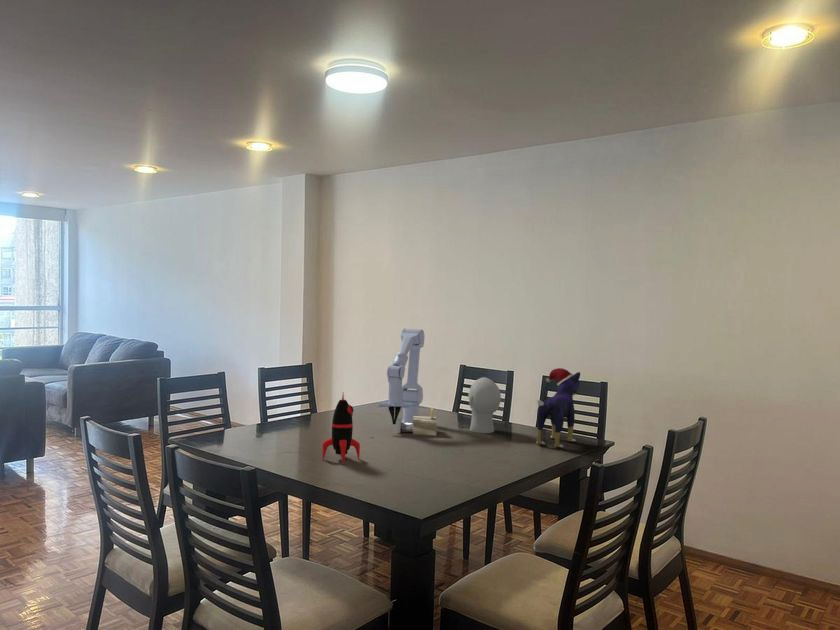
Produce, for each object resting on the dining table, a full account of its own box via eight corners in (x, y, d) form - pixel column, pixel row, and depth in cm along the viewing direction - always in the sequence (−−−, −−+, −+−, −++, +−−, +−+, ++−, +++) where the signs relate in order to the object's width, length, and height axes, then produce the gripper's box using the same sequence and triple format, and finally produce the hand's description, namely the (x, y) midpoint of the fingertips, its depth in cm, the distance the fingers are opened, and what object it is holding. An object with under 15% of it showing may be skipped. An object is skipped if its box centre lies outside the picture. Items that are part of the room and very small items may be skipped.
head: (488, 420, 293) (495, 371, 285) (500, 439, 277) (507, 388, 269) (458, 420, 290) (465, 371, 282) (469, 440, 273) (476, 388, 266)
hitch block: (412, 429, 277) (413, 415, 276) (435, 430, 277) (435, 416, 277) (412, 434, 267) (413, 420, 266) (436, 435, 267) (436, 421, 267)
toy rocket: (342, 464, 216) (344, 392, 215) (320, 459, 222) (322, 389, 221) (361, 459, 224) (363, 389, 224) (339, 454, 230) (341, 386, 229)
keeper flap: (430, 416, 275) (430, 407, 275) (432, 416, 275) (432, 407, 275) (430, 419, 268) (431, 410, 268) (433, 419, 268) (433, 410, 268)
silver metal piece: (397, 429, 275) (397, 416, 275) (429, 430, 275) (430, 417, 275) (397, 433, 268) (397, 419, 268) (430, 434, 268) (430, 420, 268)
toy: (585, 437, 272) (587, 369, 271) (550, 455, 239) (553, 377, 238) (550, 432, 281) (552, 365, 280) (512, 448, 248) (515, 373, 247)
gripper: (378, 393, 267) (377, 425, 267) (411, 394, 267) (410, 426, 267) (378, 391, 274) (378, 422, 274) (411, 392, 274) (410, 423, 274)
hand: (394, 424), depth 271 cm, fingers closed
